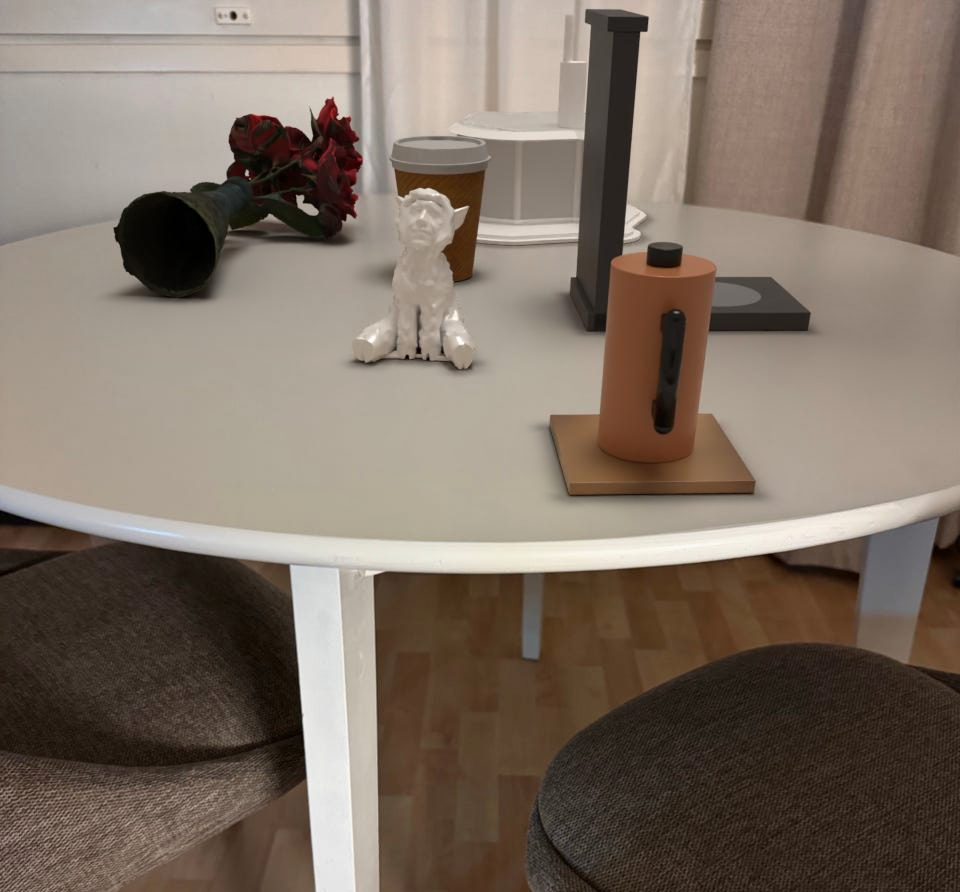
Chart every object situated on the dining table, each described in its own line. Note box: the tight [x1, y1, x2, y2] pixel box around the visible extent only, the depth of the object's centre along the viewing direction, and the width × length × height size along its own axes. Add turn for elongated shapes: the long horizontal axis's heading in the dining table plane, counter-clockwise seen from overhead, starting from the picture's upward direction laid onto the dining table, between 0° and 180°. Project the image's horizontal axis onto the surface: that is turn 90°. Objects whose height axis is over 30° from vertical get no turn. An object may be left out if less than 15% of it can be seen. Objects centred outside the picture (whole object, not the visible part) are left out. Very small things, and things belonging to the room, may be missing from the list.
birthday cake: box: [447, 14, 647, 246], centre depth 122 cm, size 30×29×22 cm
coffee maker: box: [569, 8, 812, 332], centre depth 89 cm, size 19×12×23 cm, turn 93°
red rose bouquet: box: [113, 95, 364, 299], centre depth 108 cm, size 16×18×35 cm
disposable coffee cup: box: [388, 135, 491, 282], centre depth 102 cm, size 10×10×12 cm
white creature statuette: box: [351, 188, 477, 370], centre depth 82 cm, size 10×9×12 cm
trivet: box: [548, 413, 757, 496], centre depth 67 cm, size 11×11×1 cm
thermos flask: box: [598, 241, 718, 463], centre depth 63 cm, size 6×8×12 cm
